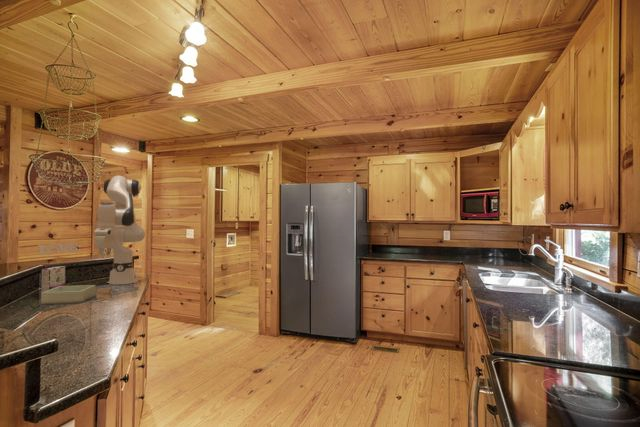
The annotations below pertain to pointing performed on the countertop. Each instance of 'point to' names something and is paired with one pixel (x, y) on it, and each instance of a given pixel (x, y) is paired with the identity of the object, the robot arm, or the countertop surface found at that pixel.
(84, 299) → the box
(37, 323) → the countertop surface
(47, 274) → the candy bar box
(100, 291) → the ash block
